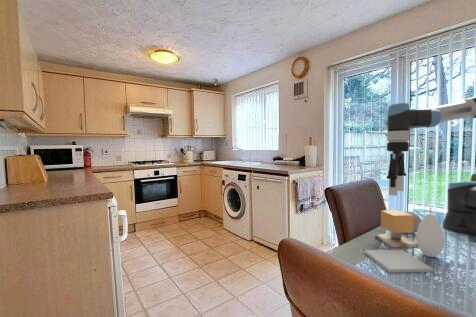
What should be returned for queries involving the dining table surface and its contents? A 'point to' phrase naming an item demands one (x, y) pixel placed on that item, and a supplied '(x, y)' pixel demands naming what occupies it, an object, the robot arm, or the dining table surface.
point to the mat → (398, 261)
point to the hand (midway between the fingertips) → (396, 193)
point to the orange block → (397, 221)
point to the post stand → (396, 240)
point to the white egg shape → (430, 236)
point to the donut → (414, 220)
